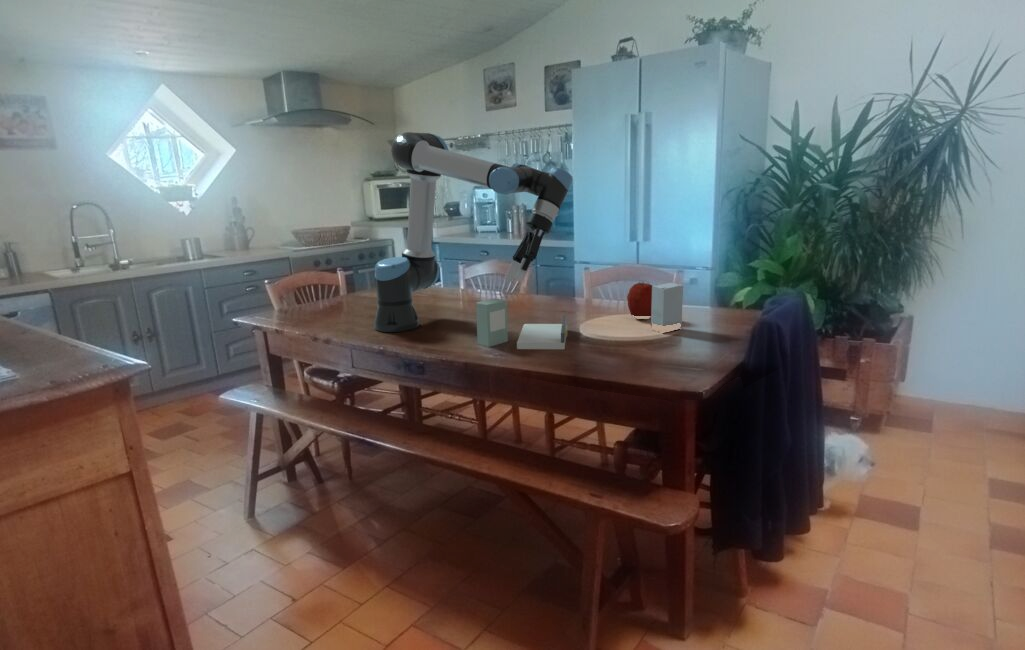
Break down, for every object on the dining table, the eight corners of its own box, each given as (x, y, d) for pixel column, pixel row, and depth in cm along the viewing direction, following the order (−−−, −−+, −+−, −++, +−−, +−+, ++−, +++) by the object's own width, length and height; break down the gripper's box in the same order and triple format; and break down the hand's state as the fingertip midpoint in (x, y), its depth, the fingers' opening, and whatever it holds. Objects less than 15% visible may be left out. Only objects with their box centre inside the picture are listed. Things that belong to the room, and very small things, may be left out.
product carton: (477, 344, 182) (475, 302, 178) (497, 338, 187) (495, 298, 184) (488, 347, 178) (486, 305, 175) (508, 341, 183) (506, 300, 180)
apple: (626, 322, 201) (626, 282, 198) (627, 315, 210) (628, 277, 207) (657, 323, 199) (658, 282, 195) (657, 316, 208) (658, 277, 205)
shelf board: (516, 349, 175) (516, 332, 174) (524, 329, 196) (523, 315, 195) (566, 349, 173) (566, 332, 172) (568, 329, 194) (568, 315, 193)
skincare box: (669, 326, 194) (670, 281, 191) (682, 330, 189) (684, 284, 186) (649, 330, 191) (650, 285, 187) (662, 334, 185) (664, 287, 182)
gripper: (565, 218, 169) (534, 286, 169) (541, 226, 194) (514, 285, 193) (542, 206, 168) (511, 274, 167) (521, 216, 192) (494, 275, 191)
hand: (512, 280), depth 180 cm, fingers open, 13 cm apart
